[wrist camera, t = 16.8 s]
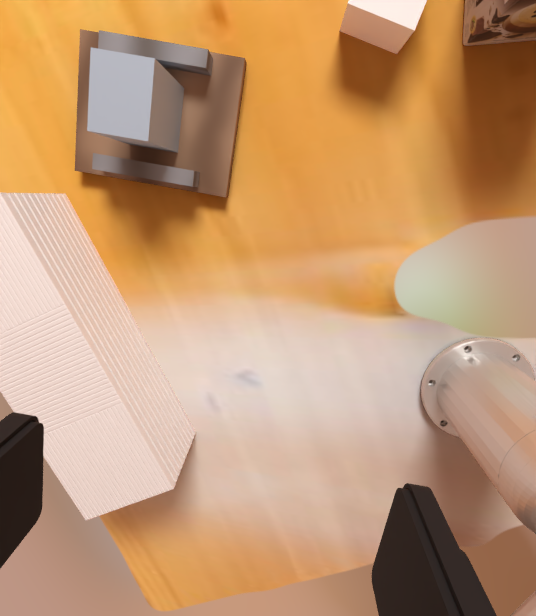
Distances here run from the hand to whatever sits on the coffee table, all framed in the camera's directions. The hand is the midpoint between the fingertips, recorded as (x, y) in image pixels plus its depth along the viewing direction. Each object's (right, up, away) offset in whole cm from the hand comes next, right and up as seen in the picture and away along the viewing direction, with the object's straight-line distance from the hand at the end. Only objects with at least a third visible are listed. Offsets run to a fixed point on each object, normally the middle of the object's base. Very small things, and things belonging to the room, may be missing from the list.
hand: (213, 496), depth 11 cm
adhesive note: (+12, +33, +28) cm, 45 cm away
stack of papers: (-19, +1, +39) cm, 43 cm away
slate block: (-10, +24, +30) cm, 40 cm away
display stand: (-10, +24, +31) cm, 41 cm away
